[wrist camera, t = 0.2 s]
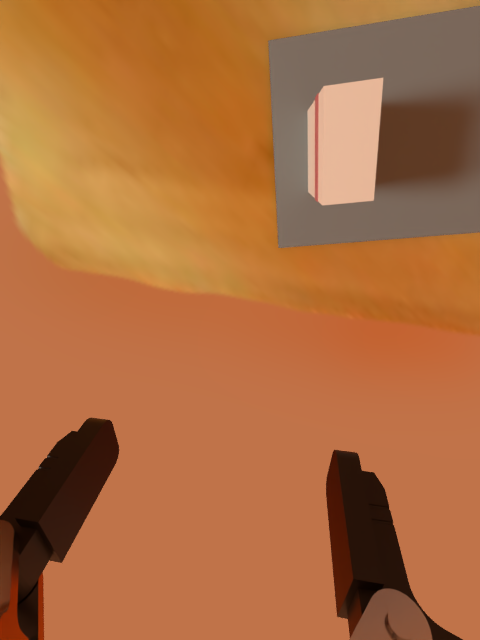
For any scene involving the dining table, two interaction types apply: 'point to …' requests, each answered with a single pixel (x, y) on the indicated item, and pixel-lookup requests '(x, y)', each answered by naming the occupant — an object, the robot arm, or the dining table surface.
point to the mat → (385, 127)
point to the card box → (344, 142)
